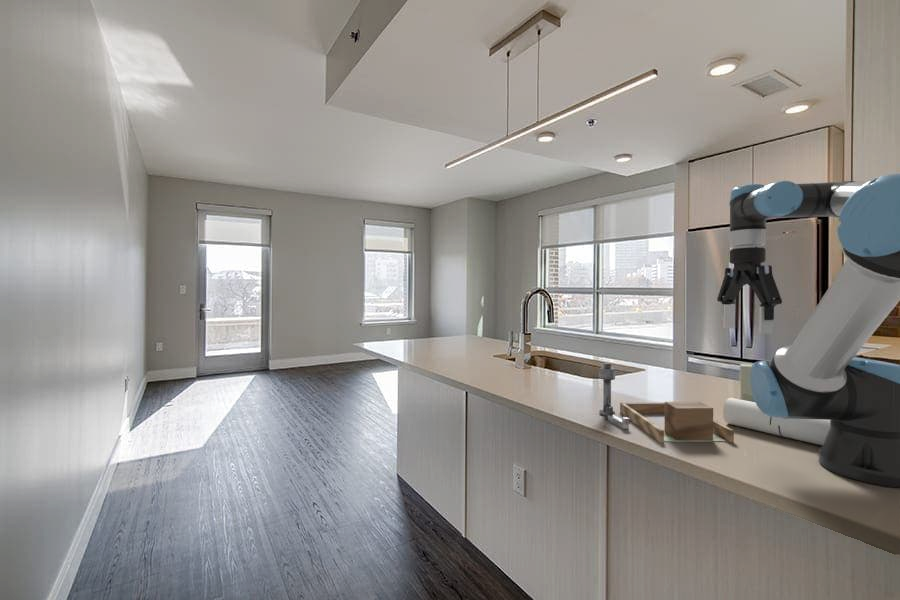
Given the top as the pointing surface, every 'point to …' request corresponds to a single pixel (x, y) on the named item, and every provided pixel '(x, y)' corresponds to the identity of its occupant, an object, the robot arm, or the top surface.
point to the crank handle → (617, 418)
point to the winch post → (606, 385)
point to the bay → (657, 433)
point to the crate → (689, 421)
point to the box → (745, 383)
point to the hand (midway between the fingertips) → (746, 331)
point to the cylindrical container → (774, 422)
